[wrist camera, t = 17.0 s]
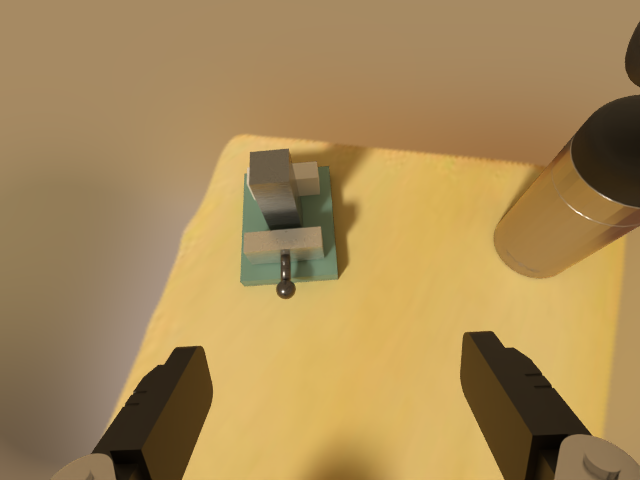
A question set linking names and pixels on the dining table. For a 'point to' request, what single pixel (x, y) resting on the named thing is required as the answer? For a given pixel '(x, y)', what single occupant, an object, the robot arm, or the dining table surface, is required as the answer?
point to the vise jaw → (284, 251)
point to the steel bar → (276, 189)
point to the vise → (315, 214)
